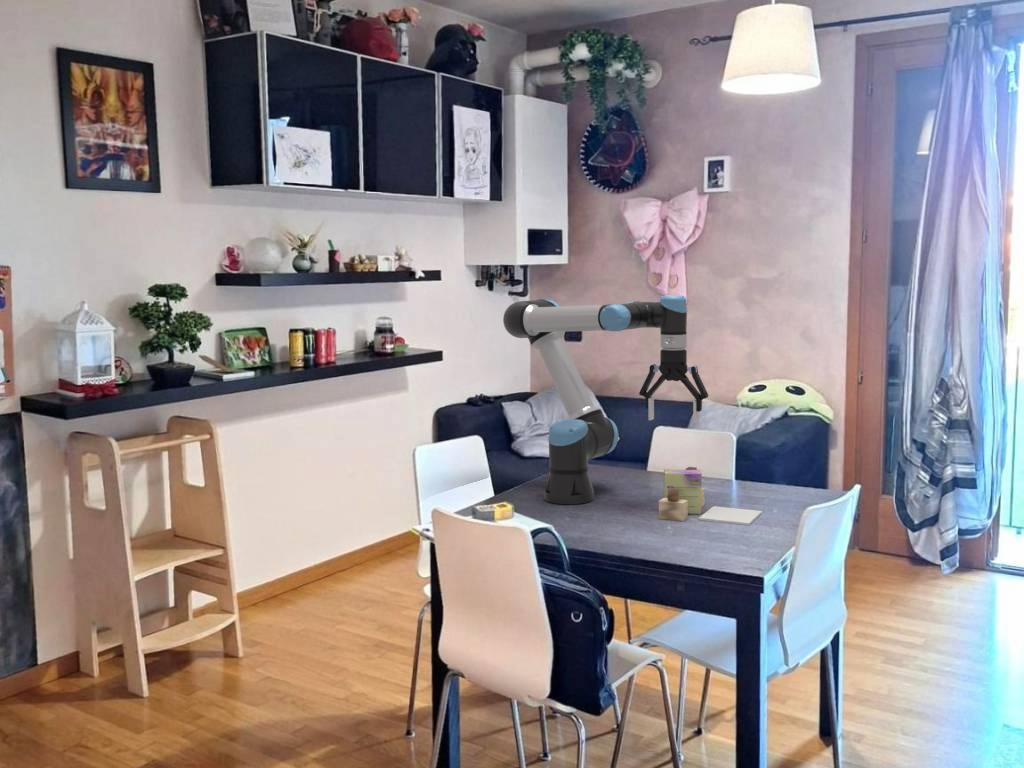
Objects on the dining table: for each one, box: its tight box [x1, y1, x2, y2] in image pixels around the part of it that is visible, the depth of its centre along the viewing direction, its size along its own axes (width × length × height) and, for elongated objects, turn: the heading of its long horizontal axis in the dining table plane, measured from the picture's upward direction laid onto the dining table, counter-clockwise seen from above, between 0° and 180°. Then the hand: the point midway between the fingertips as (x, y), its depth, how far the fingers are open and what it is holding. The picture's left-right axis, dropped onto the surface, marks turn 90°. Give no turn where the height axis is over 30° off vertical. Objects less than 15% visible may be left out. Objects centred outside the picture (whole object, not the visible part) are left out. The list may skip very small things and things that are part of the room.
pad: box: [698, 505, 763, 526], centre depth 276 cm, size 14×14×1 cm
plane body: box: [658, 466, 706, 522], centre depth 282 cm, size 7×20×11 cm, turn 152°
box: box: [663, 469, 703, 515], centre depth 282 cm, size 10×6×12 cm, turn 84°
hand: (673, 421), depth 290 cm, fingers open, 13 cm apart
